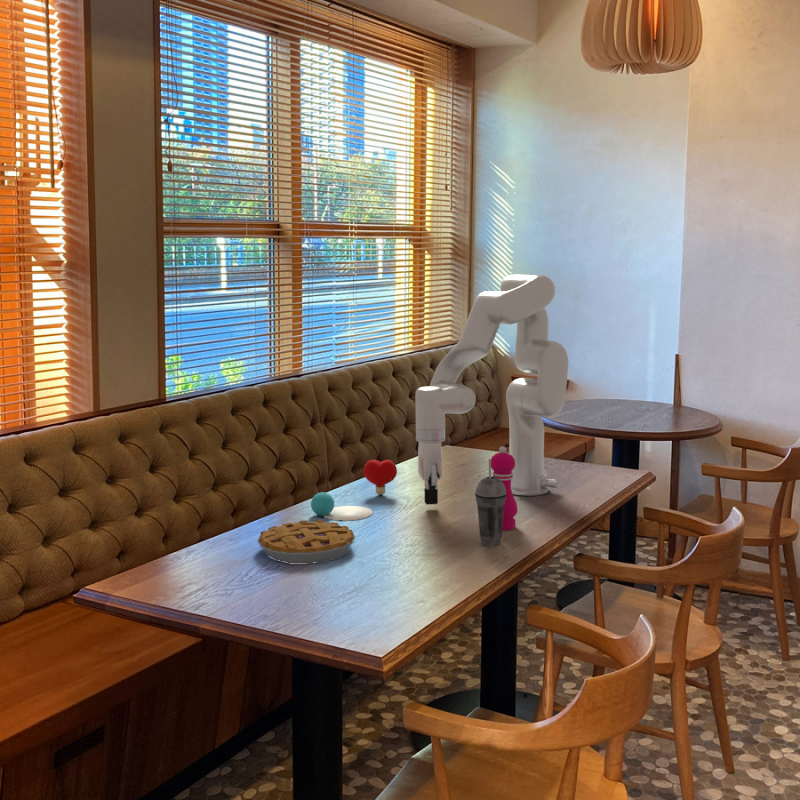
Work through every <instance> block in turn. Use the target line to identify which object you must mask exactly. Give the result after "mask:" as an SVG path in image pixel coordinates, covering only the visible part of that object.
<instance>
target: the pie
mask: <svg viewBox="0 0 800 800" xmlns="http://www.w3.org/2000/svg"><path fill="white" fill-rule="evenodd" d="M258 536H259V538H258V539H257V543H258V545H259V547H260V548H262V550H264V552H265V555H266V556H267V555H268V556H270V557H272V558H274V559H276V560H280V561H285V562H288V563H312V564H314V563H313V562H321V563H325V562H324V561H326V562H329V561H328V560H330V561H333V560H332V559H334V560H337V559H336V558H338V559H340V558H342V557H344V556H346V555H347V554H348V552H349V549H350V547H351V545H352V544H354V542H355V539H356V535H355V534H354V531H353V530H352V529H349V526H347V525H339V523H338V522H333V521H332V522H325V520H323V519H322V520H319V519H317V520H315V521H308V520H299V522H293V523H292V522H287V523H282V524H281V525H278V526H276V525H273V526H269V527H268V529H267V530H263V531H260V535H258ZM345 554H346V555H345ZM343 555H344V556H343ZM268 556H267V557H268ZM341 556H342V557H341ZM339 557H340V558H339Z"/></svg>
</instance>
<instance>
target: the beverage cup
mask: <svg viewBox="0 0 800 800" xmlns="http://www.w3.org/2000/svg"><path fill="white" fill-rule="evenodd" d="M474 495H475V496H474V497H475V500H476V501H475V503H476V504H477V507H476V508H477V515H478V516H477V517H478V527H479V528H478V529H479V538H480V544H481V545H483V546H486V545H487V546H488V547H494V546H495V545H496V546H499V545H500V544H501V543H502V536H503V535H502V534H503V533H502V532H503V530H502V525H503V514H504V504H505V500H506V496H507V493H506V488H505V486H504V484H503V483H502V481H501V480H499V479H498V478H496V477H492V468H491V458H489V459H488V476H485V477H484V478H482V479H481V480H480V481H479V482H478V484H477V486H476V488H475V493H474Z"/></svg>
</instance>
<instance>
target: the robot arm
mask: <svg viewBox="0 0 800 800" xmlns="http://www.w3.org/2000/svg"><path fill="white" fill-rule="evenodd" d="M555 294H556V287H555V284H554V281H553V280H552V279H551V278H550V277H549V276H546V275H542V274H525V273H523V274H522V273H520V274H519V273H518V274H516V273H515V274H510V275H507V276H505V277H504V278H503V279H502V281H501V283H500V290H488V291H487V290H486V291H483V292H481V293H479V294H478V295H477V296H476V298H475V299H474V302H473V304H472V307H471V310H470V312H469V314H468V317H467V319H466V322H465V324H464V327H463V330H462V333H461V335H460V338H459V340H458V341H457V343H456V344H455V345H454V346H453V347H452V348H451V349H450V350H449V351H448V353H447V354H446V355H444V357H443V358H442V360H440V362H439V363H438V365H437V367H436V368H435V371H434V373H433V376H432V379H431V381H430V383H429V386H421V387H418V388H417V389H416V391H415V441H416V442H418V446H417V447H418V450H417V473H418V475H419V476H420V478H421V479H422V480H423V481H424V503H425V505H426V506H427V505H438V501H439V499H438V497H439V495H438V494H439V490H438V483H439V482H438V480H439V481H440V480H441V479H442V477H443V475H442V474H443V459H442V457H443V454H442V453H443V452H442V442H445V441H446V414H447V415H448V414H451V415H452V414H453V415H454V414H455V415H461V414H466V413H468V412H470V411H471V410H472V409H473V408H474V407H475V405H476V402H477V401H476V399H477V398H476V394H475V392H474V390H472V389H471V387H468V386H466V385H463V384H459V383H457V381H458V379H459V376H460V375H461V374H462V372H463V371H464V370H465V369H466V368H467V367H469V366H471V365H472V364H473V363H475V362H478V361H480V360H481V359H483V358H485V357H487V356H488V355H489V354H490V351H491V349H492V346H493V343H494V341H495V338H496V336H497V333H498V330H499V328H500V325H513V324H516V336H515V349H514V350H515V351H514V363H515V367H516V368H517V369H518V370H519V371H521V372H523V373H527V374H530V375H531V374H532V375H536V376H537V379H536V378H529V377H519V378H516V379H514V380H512V381H511V382H510V384H509V385H508V387H507V389H506V392H505V400H506V407H507V411H508V412H507V413H508V420H509V423H508V424H509V426H508V427H509V446H508V447H509V449H508V453H509V454H511V455H512V456H513V458H514V460H515V467H514V469H513V470H512V473H513V479H511V490H512V494H513V495H516V496H530V497H531V496H539V495H544V494H547V493H548V492H549V491H550V488H552V489H558V488H559V482H558V481H557V479H552V478H551V479H550V478H548V474H547V473H545V471H544V470H545V469H544V467H545V466H544V465H545V464H544V463H545V462H544V460H545V456H544V455H545V425H544V420H543V418H542V417H544V418H552V417H555V416H557V415H559V413H560V412H561V411H562V410H563V407H564V404H565V400H566V393H567V385H568V383H567V381H568V373H569V356H568V352H567V351H566V349H565V347H564V345H562V344H561V343H559V342H557V341H554V340H549V317H548V313H547V310H546V307H548V306H549V305H550V304H551V303H552V301H553V299H554V298H555V297H554V296H555Z"/></svg>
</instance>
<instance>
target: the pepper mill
mask: <svg viewBox="0 0 800 800" xmlns="http://www.w3.org/2000/svg"><path fill="white" fill-rule="evenodd" d="M490 459H491V471H493V472H491V477H496V478H498V479H499V480H501V481H502V483H503V484H504V486H505V488H506V493H507V496H506V500H505V504H504V514H503V525H502V531H511V530H513V529H515V528H516V519H515V518H514V517H516V516H517V514H518V510H519V509H518V504H517V500H516V499H515V496H514V494H512V490H511V479H513V473H512V470H513V469H514V467H515V460H514V458H513V456H512V455H511V454H509V452H507V447H505V446H500V447H499V448H498V452H497V453H494V455H492V457H491V458H490Z"/></svg>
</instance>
